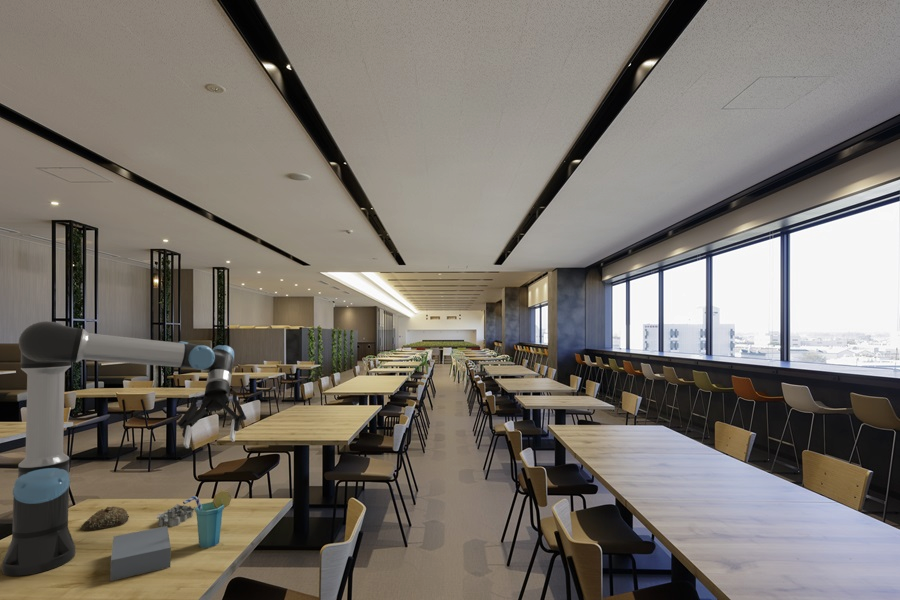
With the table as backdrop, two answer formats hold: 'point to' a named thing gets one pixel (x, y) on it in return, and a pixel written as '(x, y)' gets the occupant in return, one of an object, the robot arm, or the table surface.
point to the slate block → (140, 552)
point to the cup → (210, 518)
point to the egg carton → (178, 511)
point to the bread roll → (106, 519)
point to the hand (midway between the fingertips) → (209, 443)
